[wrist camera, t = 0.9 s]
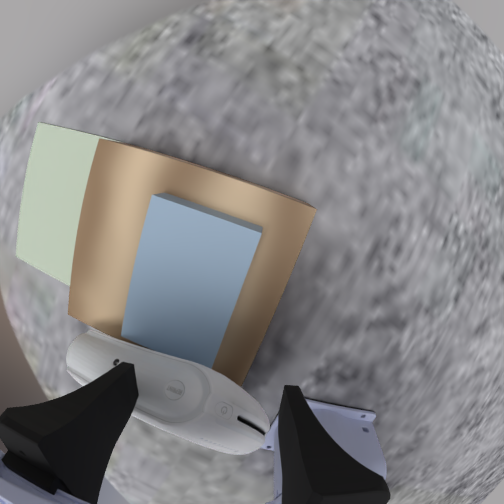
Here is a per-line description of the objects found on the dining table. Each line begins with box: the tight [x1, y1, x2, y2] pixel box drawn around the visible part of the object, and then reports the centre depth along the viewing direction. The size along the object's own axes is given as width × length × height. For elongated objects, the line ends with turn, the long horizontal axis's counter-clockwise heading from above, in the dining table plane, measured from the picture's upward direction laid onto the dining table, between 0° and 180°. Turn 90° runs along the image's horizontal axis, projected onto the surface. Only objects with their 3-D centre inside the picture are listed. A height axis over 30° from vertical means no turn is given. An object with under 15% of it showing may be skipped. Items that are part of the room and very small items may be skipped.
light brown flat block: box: [68, 138, 317, 386], centre depth 20 cm, size 14×13×4 cm
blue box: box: [121, 193, 263, 369], centre depth 17 cm, size 6×9×2 cm, turn 160°
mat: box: [16, 122, 123, 286], centre depth 21 cm, size 10×13×1 cm
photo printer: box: [66, 329, 270, 455], centre depth 17 cm, size 10×4×12 cm
